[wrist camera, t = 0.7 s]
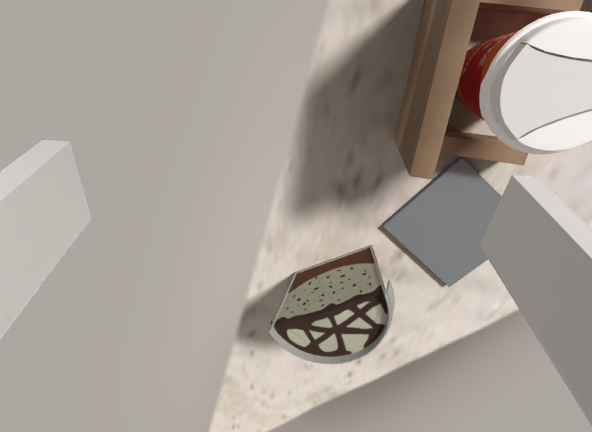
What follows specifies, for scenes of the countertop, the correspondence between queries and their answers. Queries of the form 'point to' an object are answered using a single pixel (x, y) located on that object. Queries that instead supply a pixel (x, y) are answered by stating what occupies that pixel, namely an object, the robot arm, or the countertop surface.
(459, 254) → the charcoal mat
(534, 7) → the walnut rack
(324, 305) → the food container
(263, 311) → the countertop surface
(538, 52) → the paper cup
